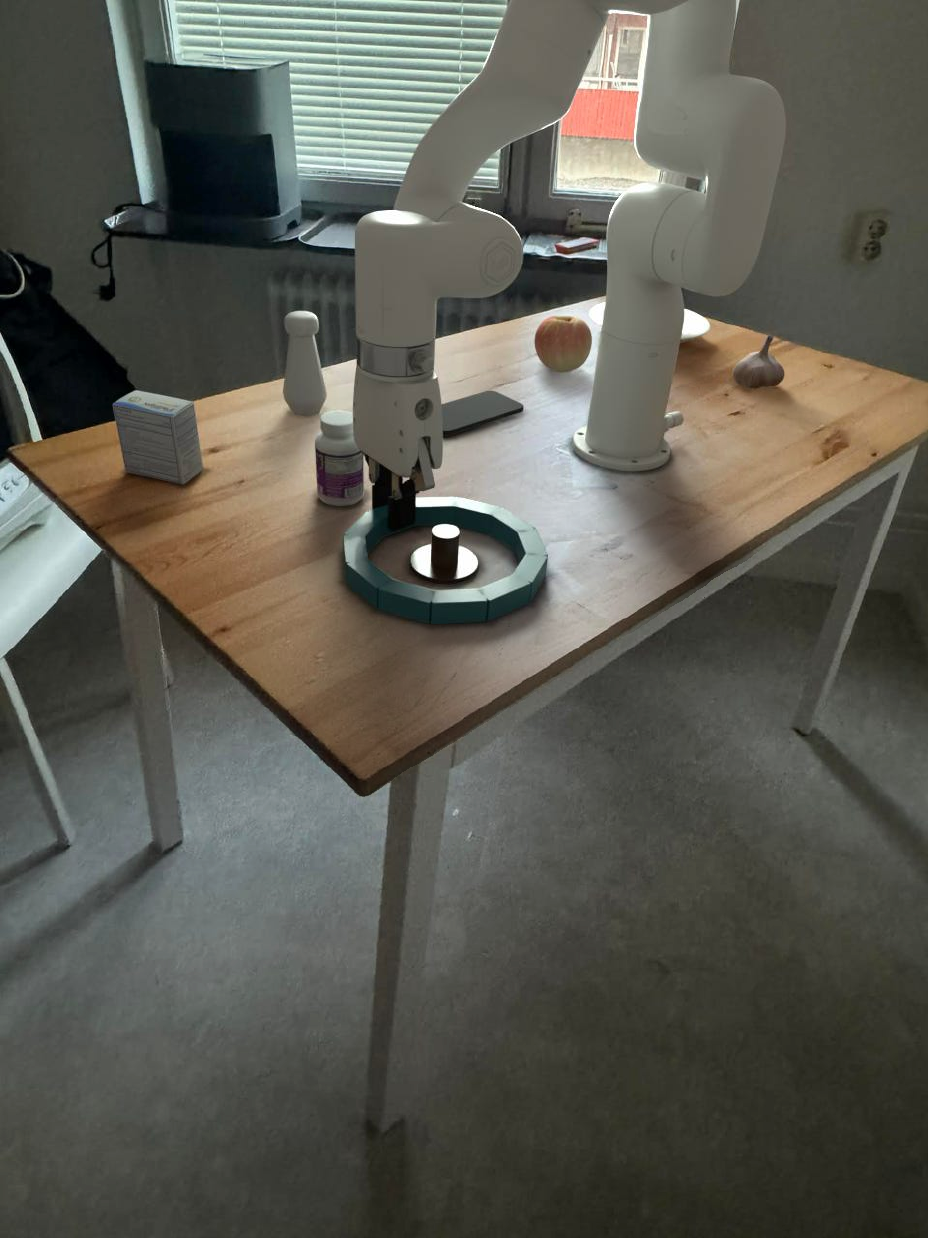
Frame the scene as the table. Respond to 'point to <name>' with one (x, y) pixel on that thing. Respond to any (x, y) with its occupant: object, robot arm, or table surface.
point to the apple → (563, 343)
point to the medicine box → (158, 436)
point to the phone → (477, 411)
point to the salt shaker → (303, 366)
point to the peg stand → (444, 558)
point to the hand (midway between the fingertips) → (393, 519)
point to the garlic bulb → (759, 369)
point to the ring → (457, 601)
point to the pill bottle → (338, 460)
